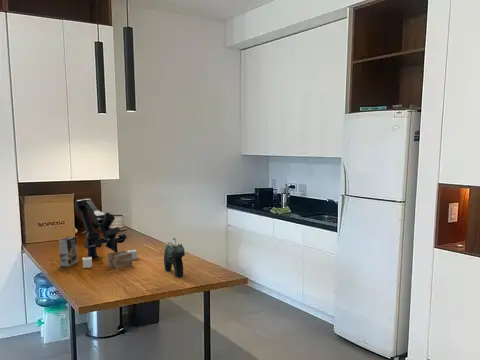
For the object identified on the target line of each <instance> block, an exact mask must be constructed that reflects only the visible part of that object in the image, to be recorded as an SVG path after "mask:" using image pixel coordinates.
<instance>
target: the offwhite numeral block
mask: <svg viewBox="0 0 480 360" xmlns="http://www.w3.org/2000/svg"><path fill="white" fill-rule="evenodd" d="M92 258H93V257H87V256H86V257H82V268H83V269H85V268H87V269H88V268H92V267H93V259H92Z"/></svg>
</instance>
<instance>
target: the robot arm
mask: <svg viewBox="0 0 480 360" xmlns="http://www.w3.org/2000/svg"><path fill="white" fill-rule="evenodd" d="M73 207H74V208H75V211H76V212H77V213H78V214H79V215H80V218H81V220H82V224H83V226H84V227H83V228H84V230H85V233H86V235H85V241H84V243H83V248H84V249H87V254H86V257H92V258H98V257H99V255H98V248H101V247H102V246H103V244H105V245H104V246H105V248H108V249H110V250H112V251H113V252H118V250H119V249H118V244H123V243H124V242H125V241H126V239H127V237H128V236H127V235H126V234H125V233H123V234H119V233H120V232H121V228H120V227H119V226H116V227H115V228H111V226H112V224H113V222H115V219H116V217H115V216H114V215H113V214H111V213H110V212H106V213H104V212H103V211H100V210H99V209H98V207H97V206H96V205H95V204H94V202H93V201H92V199H91V198H84V199H77V200H76V199H75V201H74V202H73ZM89 213H90V214H89ZM90 215H91V216H92V221H93V223H94V224H95V225H98V228H97V231H95V229H94V225H93V223H92V221H91V218H90ZM98 231H100V232H101V233H100V234H102V235H101V236H100V235H99V232H98ZM117 234H118V236H117Z"/></svg>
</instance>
